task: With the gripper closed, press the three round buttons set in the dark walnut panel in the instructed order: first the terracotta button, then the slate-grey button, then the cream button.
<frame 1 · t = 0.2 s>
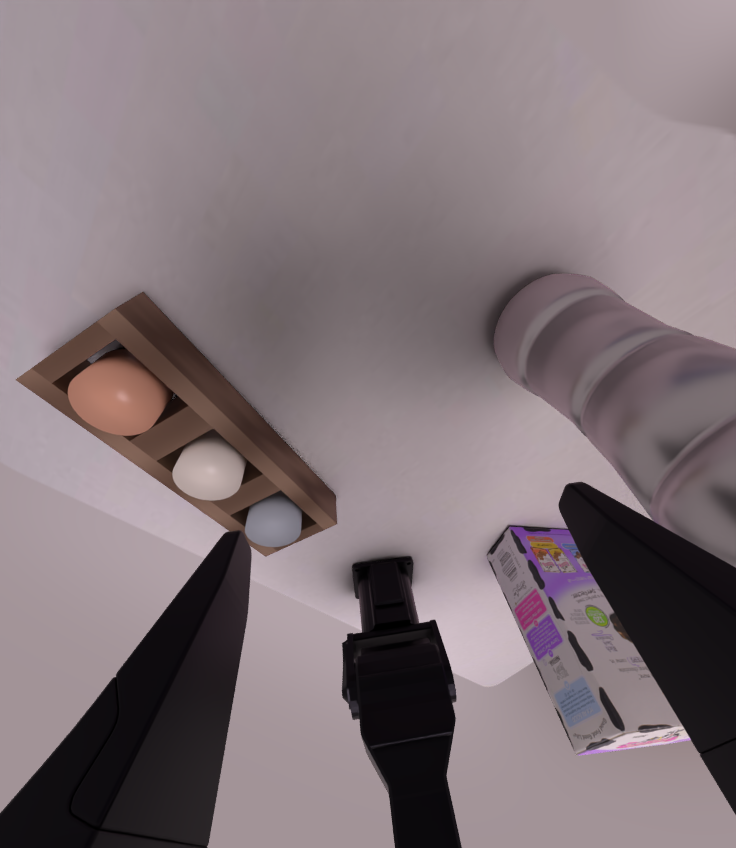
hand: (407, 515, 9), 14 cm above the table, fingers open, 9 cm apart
button grey: (275, 516, 25), point 3 cm above the table, slide at 0.0 cm
button panel: (222, 439, 24), on the table
button cream: (212, 465, 22), point 3 cm above the table, slide at 0.0 cm
button terracotta: (125, 392, 18), point 3 cm above the table, slide at 0.0 cm
candy box: (547, 542, 38), on the table
plastic bottle: (529, 320, 22), on the table
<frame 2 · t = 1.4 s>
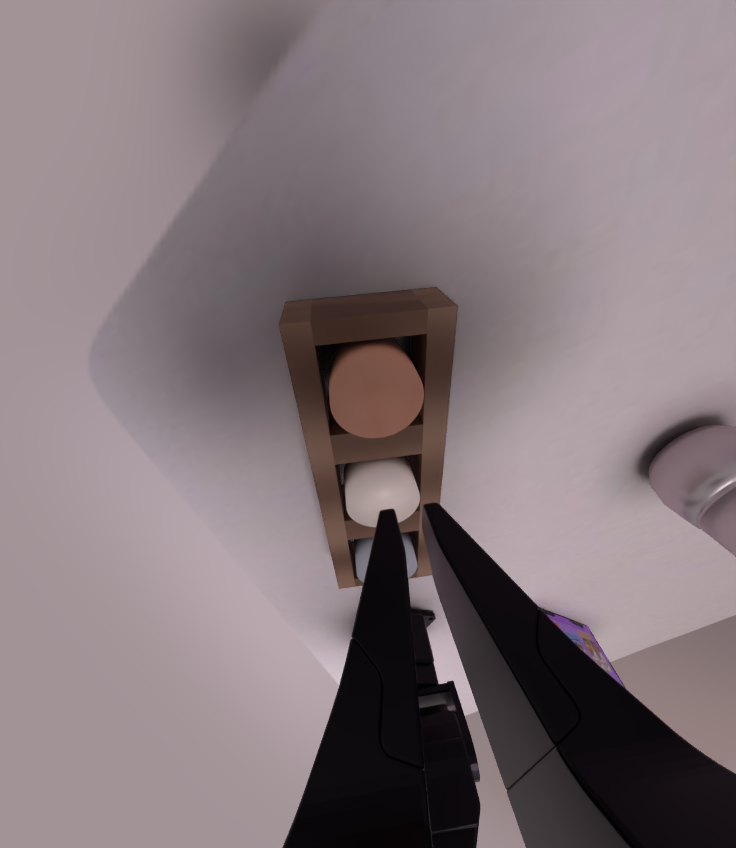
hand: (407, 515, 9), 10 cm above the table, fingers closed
button grey: (384, 552, 23), point 3 cm above the table, slide at 0.0 cm
button panel: (373, 454, 21), on the table
button cream: (380, 486, 19), point 3 cm above the table, slide at 0.0 cm
button terracotta: (373, 386, 15), point 3 cm above the table, slide at 0.0 cm
candy box: (540, 623, 40), on the table
plastic bottle: (677, 448, 24), on the table
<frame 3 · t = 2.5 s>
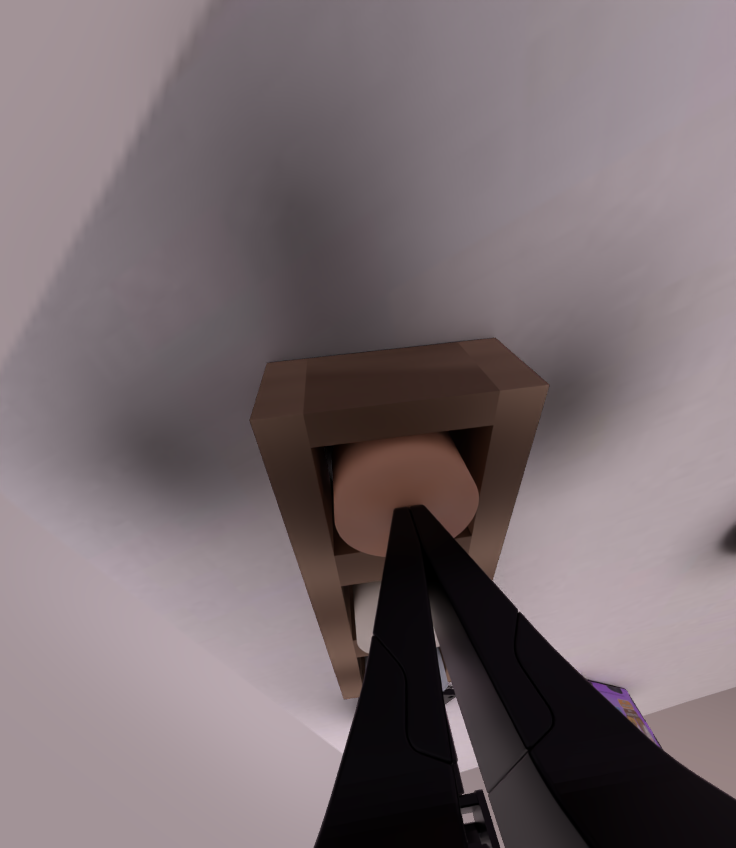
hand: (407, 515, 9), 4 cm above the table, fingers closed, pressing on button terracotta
button grey: (403, 662, 17), point 3 cm above the table, slide at 0.0 cm
button panel: (391, 543, 16), on the table
button cream: (402, 601, 14), point 3 cm above the table, slide at 0.0 cm
button terracotta: (398, 481, 10), point 2 cm above the table, slide at 0.5 cm, touching gripper
candy box: (573, 688, 35), on the table
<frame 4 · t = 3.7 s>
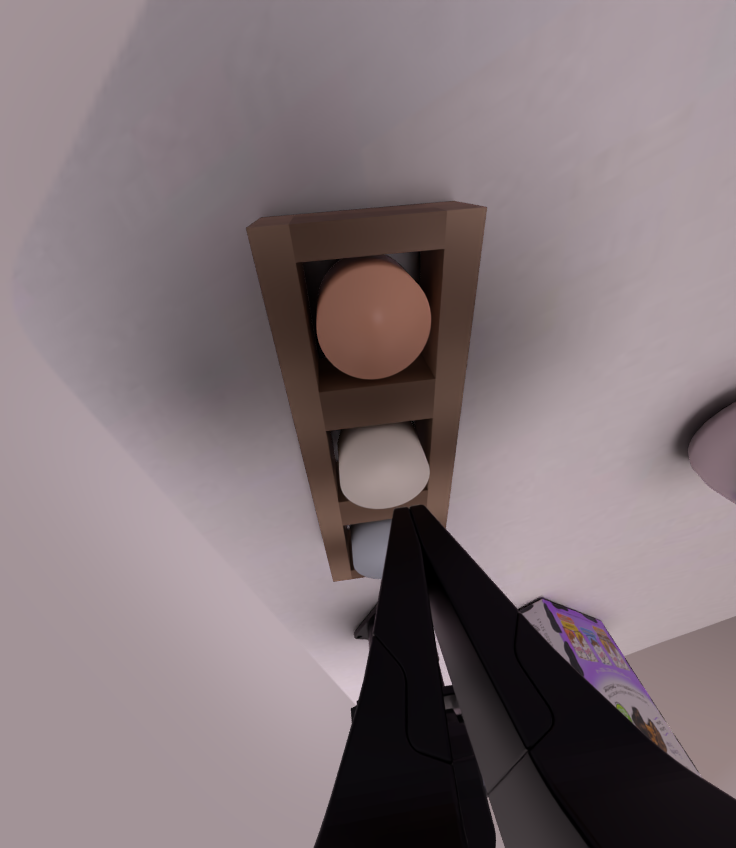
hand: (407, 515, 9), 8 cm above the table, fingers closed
button grey: (385, 540, 20), point 3 cm above the table, slide at 0.0 cm
button panel: (373, 425, 18), on the table
button cream: (381, 460, 16), point 3 cm above the table, slide at 0.0 cm
button terracotta: (370, 316, 13), point 2 cm above the table, slide at 1.0 cm
candy box: (551, 618, 38), on the table
plastic bottle: (721, 422, 21), on the table
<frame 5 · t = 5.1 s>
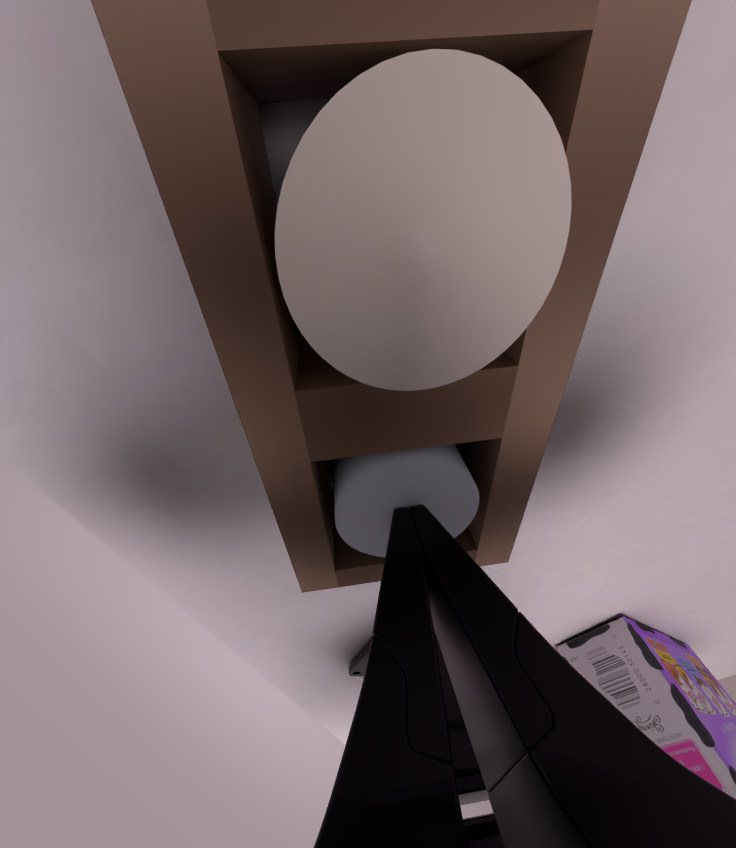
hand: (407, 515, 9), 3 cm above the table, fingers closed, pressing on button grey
button grey: (399, 482, 10), point 2 cm above the table, slide at 0.9 cm, touching gripper
button panel: (381, 231, 8), on the table
button cream: (406, 249, 6), point 3 cm above the table, slide at 0.0 cm
candy box: (624, 642, 27), on the table
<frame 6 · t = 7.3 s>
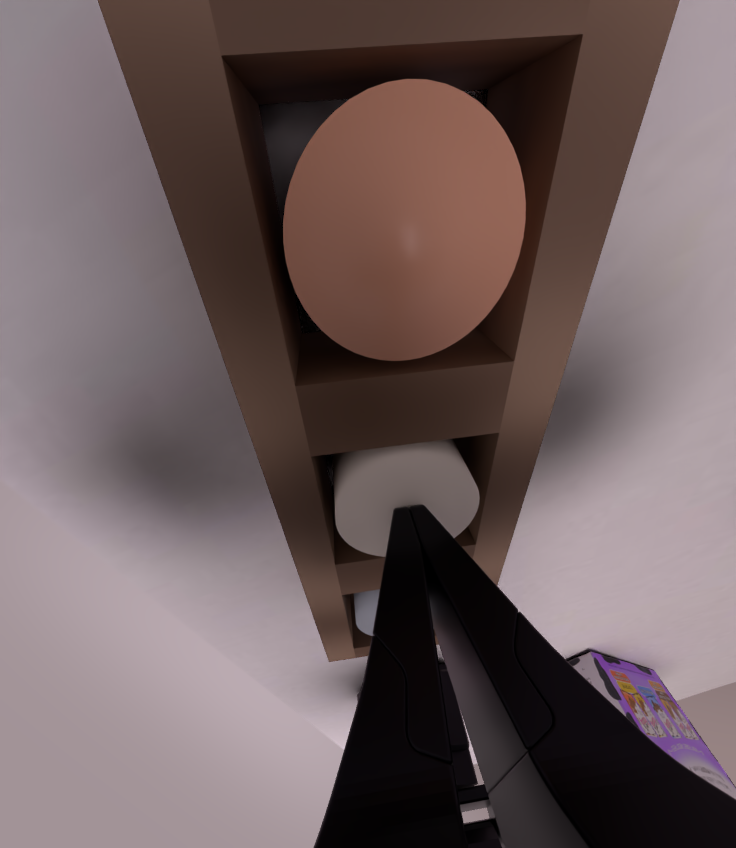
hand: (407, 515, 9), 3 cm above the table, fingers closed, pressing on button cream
button grey: (400, 584, 14), point 2 cm above the table, slide at 1.0 cm
button panel: (388, 441, 12), on the table
button cream: (399, 481, 10), point 2 cm above the table, slide at 0.8 cm, touching gripper
button terracotta: (393, 239, 7), point 2 cm above the table, slide at 1.0 cm
candy box: (596, 669, 31), on the table
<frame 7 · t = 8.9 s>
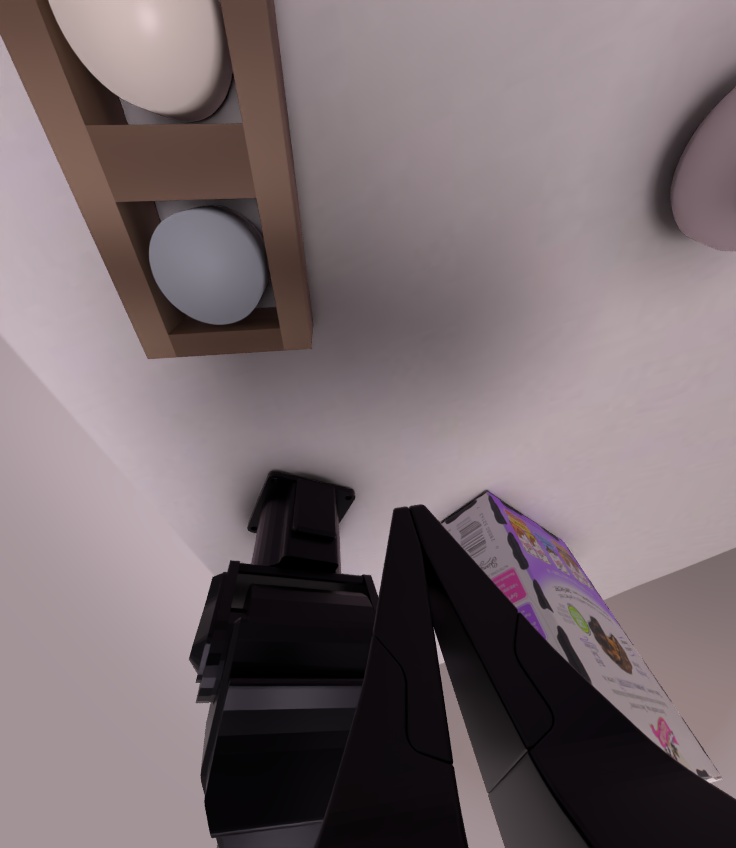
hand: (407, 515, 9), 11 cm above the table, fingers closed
button grey: (216, 265, 14), point 2 cm above the table, slide at 1.0 cm
button panel: (172, 43, 11), on the table
button cream: (151, 24, 10), point 2 cm above the table, slide at 1.0 cm
candy box: (504, 532, 31), on the table
plastic bottle: (718, 158, 15), on the table
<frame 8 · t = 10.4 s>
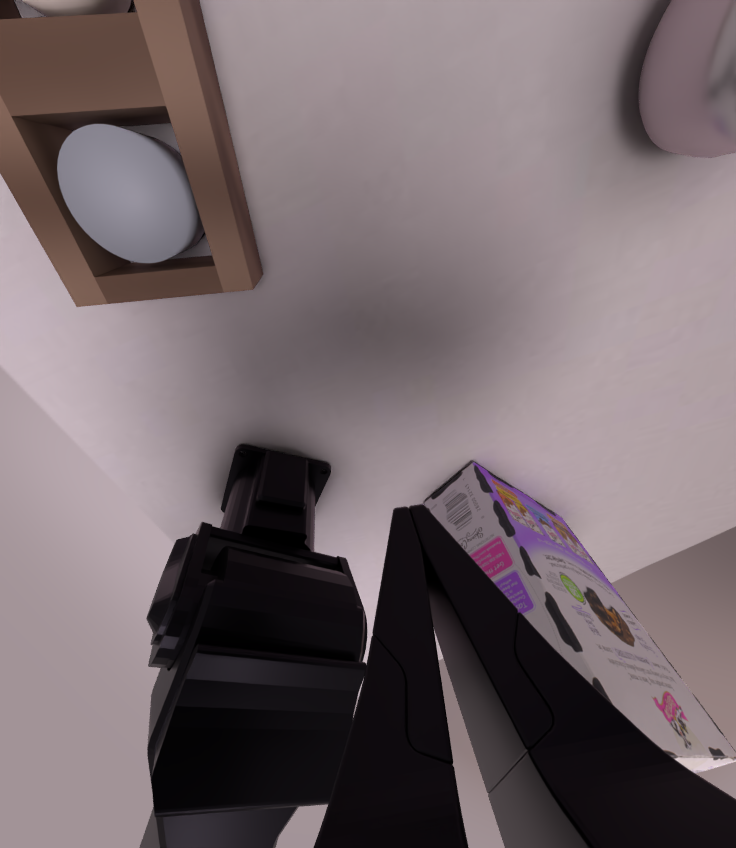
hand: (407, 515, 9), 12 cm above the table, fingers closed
button grey: (142, 199, 13), point 2 cm above the table, slide at 1.0 cm
candy box: (496, 509, 29), on the table
plastic bottle: (689, 59, 14), on the table
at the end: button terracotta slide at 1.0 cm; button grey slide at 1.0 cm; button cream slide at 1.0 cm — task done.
